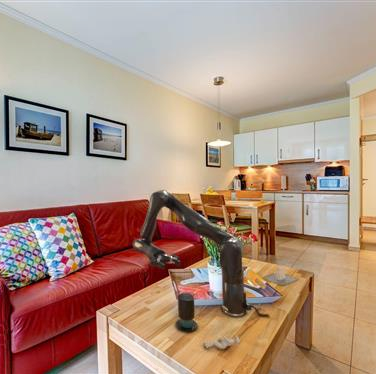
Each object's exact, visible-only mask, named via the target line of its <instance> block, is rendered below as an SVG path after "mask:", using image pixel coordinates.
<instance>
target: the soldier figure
mask: <svg viewBox="0 0 376 374" xmlns="http://www.w3.org/2000/svg"><path fill="white" fill-rule="evenodd" d="M220 336H221V337H223V338H224V339H222V338H221V337H219V338H218V340H219V341H220V342H219V341H217V340H212V341H211V342H208V343H207V342H206V340H204V342H203V344H204V346H205V349H208V348H210V347H213V346H215V347H216V348H218V349H220V350H225V349H226V348H227V347H230V346H233V345H234V343H236V344H237V345H239V344H240V337H239V336H238V335H236V334H235V337H234V338H227V337H226V335H224V334H223V333H220Z"/></svg>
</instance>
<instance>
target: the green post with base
mask: <svg viewBox="0 0 376 374" xmlns="http://www.w3.org/2000/svg"><path fill="white" fill-rule="evenodd" d="M175 327H176V328H177V329H178V330H179V331H181V332H183V333H193V332H195V331H196V330H197V329H198V325H197V322H196V321H195V320H194V319H192V320H182V319H181V318H179V319H178V320H177V321H176V326H175Z"/></svg>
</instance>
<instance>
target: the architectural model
mask: <svg viewBox="0 0 376 374" xmlns="http://www.w3.org/2000/svg"><path fill="white" fill-rule="evenodd" d="M263 279H264V280H266V281H270V282H272V283H274V284H278V285H280V286H285V285H288V284H290V283H292V282H295V281H298V278H295V277H292V276H289V275H286V266H285V265H283V266H282V265H279V266H278V267H277V269H276V270H275V271H273V274H270V275H268V276H265V277H264V278H263Z"/></svg>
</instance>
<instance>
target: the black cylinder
mask: <svg viewBox="0 0 376 374" xmlns="http://www.w3.org/2000/svg"><path fill="white" fill-rule="evenodd" d="M194 296H195V295H193V294H191V293H188V292H180V293H179V294H178V295H177V316H178V318H179V319H180V318H181V319H182V320H192V319H193V320H194V319H195V317H196V316H195V312H196V311H195V310H196V309H195V297H194Z"/></svg>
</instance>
